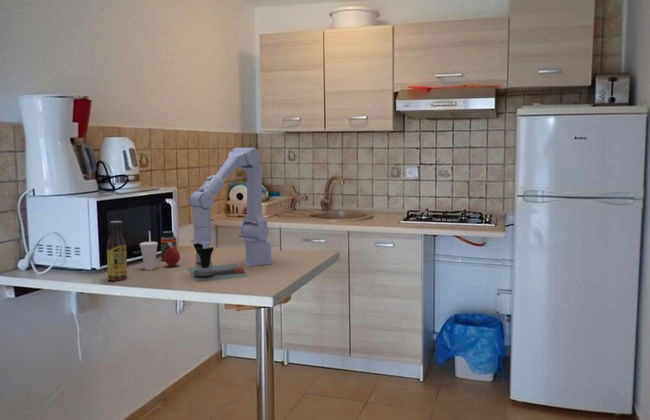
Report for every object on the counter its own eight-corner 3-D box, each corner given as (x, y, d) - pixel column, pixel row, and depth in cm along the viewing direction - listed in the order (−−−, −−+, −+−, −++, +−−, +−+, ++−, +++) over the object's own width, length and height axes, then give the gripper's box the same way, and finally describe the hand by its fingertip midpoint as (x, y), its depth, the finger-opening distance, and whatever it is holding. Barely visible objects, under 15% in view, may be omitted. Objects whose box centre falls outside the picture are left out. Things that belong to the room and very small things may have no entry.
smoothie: (162, 268, 208) (160, 231, 206) (146, 272, 203) (144, 233, 201) (153, 266, 212) (151, 229, 210) (137, 269, 208) (135, 231, 206)
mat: (236, 264, 214) (236, 263, 214) (248, 277, 194) (248, 276, 194) (187, 268, 208) (187, 267, 208) (195, 282, 188) (195, 281, 188)
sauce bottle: (116, 282, 188) (112, 223, 186) (103, 280, 192) (100, 222, 189) (132, 278, 194) (128, 220, 191) (120, 276, 197) (116, 219, 195)
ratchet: (195, 279, 191) (194, 267, 191) (192, 274, 198) (192, 263, 197) (245, 274, 197) (245, 263, 196) (241, 270, 203) (240, 259, 203)
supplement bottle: (174, 261, 220) (173, 232, 219) (159, 261, 221) (158, 232, 219) (178, 258, 226) (177, 230, 225) (164, 258, 226) (162, 230, 225)
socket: (209, 268, 199) (209, 252, 198) (212, 271, 194) (212, 254, 193) (195, 270, 197) (194, 253, 196) (198, 273, 192) (197, 256, 191)
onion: (175, 268, 208) (174, 247, 207) (161, 268, 209) (160, 246, 208) (182, 265, 214) (182, 244, 213) (168, 264, 215) (167, 244, 214)
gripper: (187, 224, 199) (189, 262, 201) (193, 230, 185) (194, 270, 187) (208, 223, 201) (209, 260, 203) (214, 228, 188) (216, 269, 189)
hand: (203, 265), depth 195 cm, fingers open, 7 cm apart
